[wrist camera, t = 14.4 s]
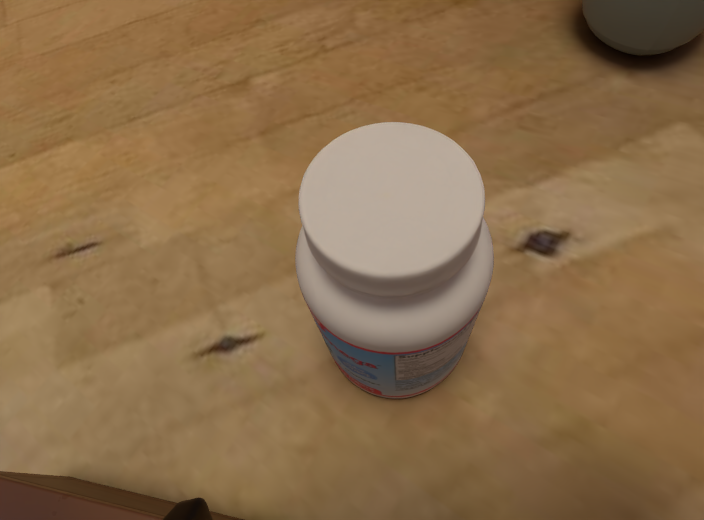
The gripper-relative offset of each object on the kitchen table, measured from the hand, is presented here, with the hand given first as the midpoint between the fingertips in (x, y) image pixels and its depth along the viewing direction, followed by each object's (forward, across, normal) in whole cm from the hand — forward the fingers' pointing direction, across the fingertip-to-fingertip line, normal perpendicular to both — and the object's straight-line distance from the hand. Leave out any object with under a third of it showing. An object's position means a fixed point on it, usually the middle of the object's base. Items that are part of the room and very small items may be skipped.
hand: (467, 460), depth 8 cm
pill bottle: (+13, 0, +4) cm, 14 cm away
